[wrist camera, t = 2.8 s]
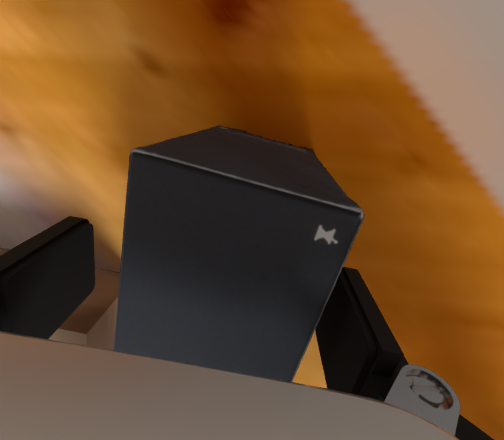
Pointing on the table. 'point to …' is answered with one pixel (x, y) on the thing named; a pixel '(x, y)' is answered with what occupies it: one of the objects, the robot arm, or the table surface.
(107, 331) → the walnut block
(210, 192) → the small box
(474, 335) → the table surface
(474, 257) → the table surface
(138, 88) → the table surface
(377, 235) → the table surface
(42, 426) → the robot arm
